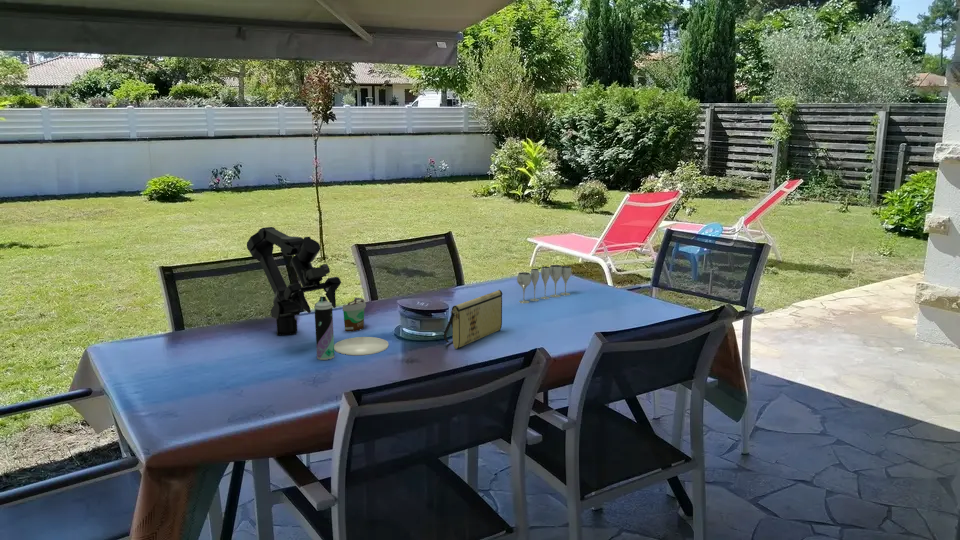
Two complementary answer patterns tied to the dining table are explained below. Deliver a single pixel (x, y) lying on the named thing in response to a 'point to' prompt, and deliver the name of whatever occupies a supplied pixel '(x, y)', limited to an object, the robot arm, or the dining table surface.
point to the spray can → (324, 329)
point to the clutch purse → (475, 319)
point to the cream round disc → (361, 346)
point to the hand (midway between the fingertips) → (322, 309)
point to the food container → (354, 314)
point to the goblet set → (544, 278)
